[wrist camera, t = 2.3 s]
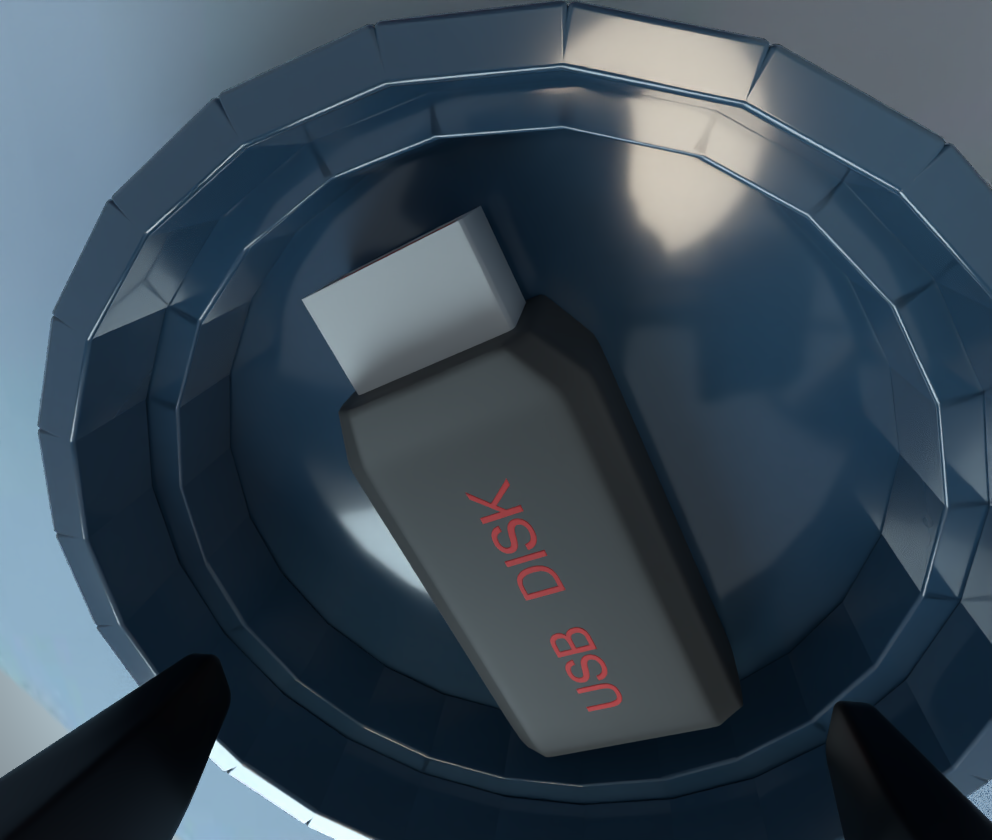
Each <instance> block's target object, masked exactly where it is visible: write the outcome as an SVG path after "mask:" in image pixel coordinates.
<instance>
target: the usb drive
mask: <svg viewBox="0 0 992 840" xmlns="http://www.w3.org/2000/svg"><path fill="white" fill-rule="evenodd" d="M302 301H303V303H304V305H305V306H306V308H307V310H308V311H309V313H310V315H311V316H312V318H313V320H314V321H315V323H316V325H317V326H318V328H319V330H320V332H321V333H322V335H323V337H324V338H325V340H326V342H327V343H328V345H329V347H330V348H331V350H332V352H333V353H334V355H335V357H336V358H337V360H338V362H339V364H340V365H341V367H342V369H343V370H344V372H345V374H346V375H347V377H348V379H349V380H350V382H351V384H352V385H353V387H354V389H355V390H356V391H355V392H354V393H353V394H352V395H351V396H350V397H349V399H348V400H347V401H346V402H345V403H344V404H343V405H342V407H341V408H340V410H339V412H338V414H339V419H340V424H341V429H342V434H343V439H344V444H345V449H346V454H347V459H348V463H349V466H350V468H351V470H352V472H353V474H354V476H355V477H356V479H357V481H358V482H359V484H360V486H361V487H362V489H363V490H364V492H365V494H366V495H367V497H368V498H369V500H370V502H371V503H372V505H373V506H374V508H375V510H376V511H377V513H378V514H379V516H380V518H381V519H382V521H383V522H384V524H385V525H386V527H387V529H388V530H389V532H390V533H391V535H392V537H393V538H394V540H395V541H396V543H397V545H398V546H399V548H400V549H401V551H402V553H403V554H404V556H405V557H406V559H407V561H408V562H409V564H410V565H411V567H412V569H413V570H414V572H415V573H416V575H417V576H418V578H419V580H420V581H421V583H422V584H423V586H424V588H425V589H426V591H427V592H428V594H429V596H430V597H431V599H432V600H433V602H434V604H435V605H436V607H437V608H438V610H439V612H440V613H441V615H442V616H443V618H444V620H445V621H446V623H447V624H448V626H449V627H450V629H451V631H452V632H453V634H454V635H455V637H456V639H457V640H458V642H459V643H460V645H461V647H462V648H463V650H464V651H465V653H466V655H467V656H468V658H469V659H470V661H471V663H472V664H473V666H474V667H475V669H476V670H477V672H478V674H479V675H480V677H481V678H482V680H483V682H484V683H485V685H486V686H487V688H488V690H489V691H490V693H491V694H492V696H493V698H494V699H495V701H496V702H497V704H498V706H499V707H500V709H501V710H502V712H503V714H504V715H505V717H506V718H507V720H508V721H509V723H510V725H511V726H512V727H513V729H514V730H515V732H516V733H517V735H518V736H519V738H520V739H521V741H522V742H523V743H524V744H525V745H526V746H527V747H528V748H531V749H532V750H534V751H536V752H538V753H540V754H541V755H543V756H545V757H554V756H560V755H565V754H571V753H576V752H582V751H587V750H592V749H598V748H603V747H609V746H614V745H620V744H625V743H631V742H636V741H642V740H647V739H653V738H658V737H664V736H669V735H675V734H680V733H686V732H691V731H696V730H702V729H707V728H712V727H717V726H719V725H721V724H722V723H723V722H724V721H726V720H727V719H728V718H729V717H730V716H731V715H732V714H734V713H735V712H736V711H737V710H738V709H740V708H741V707H742V706H743V698H742V691H741V686H740V681H739V677H738V672H737V668H736V664H735V660H734V655H733V651H732V648H731V645H730V643H729V640H728V638H727V635H726V633H725V631H724V628H723V626H722V624H721V621H720V619H719V617H718V614H717V612H716V610H715V607H714V605H713V603H712V600H711V598H710V596H709V594H708V591H707V589H706V587H705V584H704V582H703V580H702V577H701V575H700V573H699V571H698V568H697V566H696V564H695V561H694V559H693V557H692V554H691V552H690V550H689V548H688V545H687V543H686V541H685V538H684V536H683V534H682V531H681V529H680V527H679V525H678V522H677V520H676V518H675V515H674V513H673V511H672V508H671V506H670V504H669V502H668V499H667V497H666V495H665V492H664V490H663V488H662V485H661V483H660V481H659V479H658V476H657V474H656V472H655V469H654V467H653V465H652V462H651V460H650V458H649V456H648V453H647V451H646V449H645V446H644V444H643V442H642V439H641V437H640V435H639V432H638V430H637V428H636V426H635V423H634V421H633V419H632V416H631V414H630V412H629V409H628V407H627V405H626V403H625V400H624V398H623V396H622V393H621V391H620V389H619V386H618V384H617V382H616V380H615V377H614V375H613V373H612V370H611V368H610V366H609V363H608V361H607V359H606V357H605V355H604V352H603V350H602V348H601V346H600V344H599V342H598V340H597V339H596V337H595V336H594V334H593V333H592V332H591V331H589V330H588V329H587V328H586V327H585V326H583V325H582V324H581V323H580V322H578V321H577V320H576V319H575V318H573V317H572V316H571V315H569V314H568V313H567V312H566V311H564V310H563V309H562V308H561V307H559V306H558V305H557V304H555V303H554V302H553V301H552V300H550V299H549V298H548V297H547V296H545V295H538V296H535V297H533V298H530V299H528V300H526V301H525V299H524V297H523V295H522V293H521V291H520V289H519V287H518V284H517V282H516V280H515V278H514V276H513V274H512V272H511V269H510V267H509V265H508V263H507V261H506V259H505V257H504V254H503V252H502V250H501V248H500V246H499V244H498V242H497V239H496V237H495V235H494V233H493V231H492V229H491V227H490V224H489V222H488V220H487V218H486V216H485V214H484V212H483V209H482V207H481V206H479V207H477V208H475V209H473V210H471V211H469V212H467V213H465V214H463V215H461V216H459V217H458V218H456V219H454V220H452V221H450V222H448V223H446V224H444V225H442V226H440V227H438V228H436V229H434V230H432V231H430V232H428V233H426V234H424V235H422V236H420V237H418V238H416V239H414V240H412V241H410V242H408V243H406V244H404V245H402V246H400V247H398V248H396V249H394V250H392V251H390V252H388V253H387V254H385V255H383V256H381V257H379V258H377V259H375V260H373V261H371V262H369V263H367V264H365V265H363V266H361V267H359V268H357V269H355V270H353V271H351V272H349V273H347V274H345V275H343V276H341V277H339V278H337V279H336V280H334V281H332V282H330V283H329V284H327V285H325V286H324V287H322V288H320V289H319V290H317V291H315V292H313V293H312V294H310V295H308V296H307V297H305V298H303V299H302Z"/></svg>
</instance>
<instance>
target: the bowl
mask: <svg viewBox="0 0 992 840" xmlns="http://www.w3.org/2000/svg"><path fill="white" fill-rule="evenodd" d="M479 206H481V207H482V209H483V212H484V214H485V216H486V218H487V220H488V222H489V224H490V227H491V229H492V231H493V233H494V235H495V237H496V239H497V242H498V244H499V246H500V248H501V250H502V252H503V254H504V257H505V259H506V261H507V263H508V265H509V267H510V269H511V272H512V274H513V276H514V278H515V280H516V282H517V284H518V287H519V289H520V291H521V293H522V295H523V297H524V299H525V301H526V300H528V299H530V298H533V297H535V296H538V295H545V296H547V297H548V298H549V299H550V300H552V301H553V302H554V303H555V304H557V305H558V306H559V307H561V308H562V309H563V310H564V311H566V312H567V313H568V314H569V315H571V316H572V317H573V318H575V319H576V320H577V321H578V322H580V323H581V324H582V325H583V326H585V327H586V328H587V329H588V330H589V331H591V332H592V333H593V334H594V336H595V337H596V339H597V340H598V342H599V344H600V346H601V348H602V350H603V352H604V355H605V357H606V359H607V361H608V363H609V366H610V368H611V370H612V373H613V375H614V377H615V380H616V382H617V384H618V386H619V389H620V391H621V393H622V396H623V398H624V400H625V403H626V405H627V407H628V409H629V412H630V414H631V416H632V419H633V421H634V423H635V426H636V428H637V430H638V432H639V435H640V437H641V439H642V442H643V444H644V446H645V449H646V451H647V453H648V456H649V458H650V460H651V462H652V465H653V467H654V469H655V472H656V474H657V476H658V479H659V481H660V483H661V485H662V488H663V490H664V492H665V495H666V497H667V499H668V502H669V504H670V506H671V508H672V511H673V513H674V515H675V518H676V520H677V522H678V525H679V527H680V529H681V531H682V534H683V536H684V538H685V541H686V543H687V545H688V548H689V550H690V552H691V554H692V557H693V559H694V561H695V564H696V566H697V568H698V571H699V573H700V575H701V577H702V580H703V582H704V584H705V587H706V589H707V591H708V594H709V596H710V598H711V600H712V603H713V605H714V607H715V610H716V612H717V614H718V617H719V619H720V621H721V624H722V626H723V628H724V631H725V633H726V635H727V638H728V640H729V643H730V645H731V648H732V651H733V655H734V660H735V664H736V668H737V672H738V677H739V681H740V686H741V691H742V698H743V706H742V707H741V708H740V709H738V710H737V711H736V712H735V713H734V714H732V715H731V716H730V717H729V718H728V719H727V720H726V721H724V722H723V723H722V724H721V725H719V726H717V727H712V728H707V729H702V730H696V731H691V732H686V733H680V734H675V735H669V736H664V737H658V738H653V739H647V740H642V741H636V742H631V743H625V744H620V745H614V746H609V747H603V748H598V749H592V750H587V751H582V752H576V753H571V754H565V755H560V756H554V757H545V756H543V755H541V754H540V753H538V752H536V751H534V750H532V749H531V748H528V747H527V746H526V745H525V744H524V743H523V742H522V741H521V739H520V738H519V736H518V735H517V733H516V732H515V730H514V729H513V727H512V726H511V725H510V723H509V721H508V720H507V718H506V717H505V715H504V714H503V712H502V710H501V709H500V707H499V706H498V704H497V702H496V701H495V699H494V698H493V696H492V694H491V693H490V691H489V690H488V688H487V686H486V685H485V683H484V682H483V680H482V678H481V677H480V675H479V674H478V672H477V670H476V669H475V667H474V666H473V664H472V663H471V661H470V659H469V658H468V656H467V655H466V653H465V651H464V650H463V648H462V647H461V645H460V643H459V642H458V640H457V639H456V637H455V635H454V634H453V632H452V631H451V629H450V627H449V626H448V624H447V623H446V621H445V620H444V618H443V616H442V615H441V613H440V612H439V610H438V608H437V607H436V605H435V604H434V602H433V600H432V599H431V597H430V596H429V594H428V592H427V591H426V589H425V588H424V586H423V584H422V583H421V581H420V580H419V578H418V576H417V575H416V573H415V572H414V570H413V569H412V567H411V565H410V564H409V562H408V561H407V559H406V557H405V556H404V554H403V553H402V551H401V549H400V548H399V546H398V545H397V543H396V541H395V540H394V538H393V537H392V535H391V533H390V532H389V530H388V529H387V527H386V525H385V524H384V522H383V521H382V519H381V518H380V516H379V514H378V513H377V511H376V510H375V508H374V506H373V505H372V503H371V502H370V500H369V498H368V497H367V495H366V494H365V492H364V490H363V489H362V487H361V486H360V484H359V482H358V481H357V479H356V477H355V476H354V474H353V472H352V470H351V468H350V466H349V463H348V459H347V454H346V449H345V444H344V439H343V434H342V429H341V424H340V419H339V414H338V412H339V410H340V408H341V407H342V405H343V404H344V403H345V402H346V401H347V400H348V399H349V397H350V396H351V395H352V394H353V393H354V392H355V391H356V390H355V389H354V387H353V385H352V384H351V382H350V380H349V379H348V377H347V375H346V374H345V372H344V370H343V369H342V367H341V365H340V364H339V362H338V360H337V358H336V357H335V355H334V353H333V352H332V350H331V348H330V347H329V345H328V343H327V342H326V340H325V338H324V337H323V335H322V333H321V332H320V330H319V328H318V326H317V325H316V323H315V321H314V320H313V318H312V316H311V315H310V313H309V311H308V310H307V308H306V306H305V305H304V303H303V301H302V299H303V298H305V297H307V296H308V295H310V294H312V293H313V292H315V291H317V290H319V289H320V288H322V287H324V286H325V285H327V284H329V283H330V282H332V281H334V280H336V279H337V278H339V277H341V276H343V275H345V274H347V273H349V272H351V271H353V270H355V269H357V268H359V267H361V266H363V265H365V264H367V263H369V262H371V261H373V260H375V259H377V258H379V257H381V256H383V255H385V254H387V253H388V252H390V251H392V250H394V249H396V248H398V247H400V246H402V245H404V244H406V243H408V242H410V241H412V240H414V239H416V238H418V237H420V236H422V235H424V234H426V233H428V232H430V231H432V230H434V229H436V228H438V227H440V226H442V225H444V224H446V223H448V222H450V221H452V220H454V219H456V218H458V217H459V216H461V215H463V214H465V213H467V212H469V211H471V210H473V209H475V208H477V207H479ZM53 315H54V316H53V317H52V319H51V325H50V333H49V341H48V348H47V356H46V364H45V371H44V379H43V387H42V394H41V402H40V410H39V417H38V427H39V428H40V429H39V430H38V436H39V443H40V449H41V455H42V461H43V467H44V473H45V479H46V485H47V491H48V497H49V503H50V509H51V515H52V521H53V527H54V531H55V532H56V533H57V534H56V538H57V540H58V542H59V544H60V547H61V549H62V551H63V553H64V556H65V558H66V560H67V562H68V565H69V567H70V569H71V572H72V574H73V576H74V578H75V581H76V583H77V585H78V587H79V590H80V592H81V594H82V596H83V599H84V601H85V603H86V605H87V608H88V610H89V612H90V614H91V617H92V619H93V621H94V623H95V624H96V625H98V626H97V630H98V631H99V632H100V634H101V635H102V636H103V638H104V639H105V640H106V642H107V643H108V645H109V646H110V647H111V649H112V650H113V651H114V653H115V654H116V655H117V657H118V658H119V660H120V661H121V662H122V664H123V665H124V666H125V668H126V669H127V670H128V672H129V673H130V675H131V676H132V677H133V679H134V680H135V681H136V683H137V684H138V685H139V687H140V686H141V685H143V684H144V683H146V682H147V681H149V680H150V679H152V678H153V677H155V676H157V675H158V674H160V673H161V672H163V671H164V670H166V669H167V668H169V667H170V666H172V665H173V664H175V663H176V662H178V661H179V660H181V659H182V658H184V657H186V656H187V655H190V654H194V653H198V654H212V655H216V656H217V657H218V658H219V660H220V662H221V665H222V667H223V670H224V673H225V676H226V679H227V682H228V685H229V688H230V691H231V702H230V706H229V709H228V712H227V714H226V717H225V719H224V722H223V724H222V727H221V729H220V731H219V734H218V736H217V739H216V741H215V744H214V746H213V749H212V751H211V753H210V756H209V758H210V759H211V760H212V761H213V762H214V763H215V764H216V765H217V766H218V767H219V768H220V769H221V770H222V771H224V772H226V771H227V773H228V774H229V775H230V776H232V777H233V778H235V779H236V780H238V781H239V782H241V783H242V784H244V785H245V786H247V787H248V788H250V789H251V790H253V791H254V792H256V793H257V794H259V795H261V796H262V797H264V798H265V799H267V800H268V801H270V802H271V803H273V804H274V805H276V806H277V807H279V808H280V809H282V810H283V811H285V812H286V813H288V814H289V815H291V816H292V817H294V818H295V819H297V820H298V821H300V822H301V823H303V824H307V826H308V827H309V828H312V829H314V830H316V831H318V832H320V833H322V834H325V835H327V836H329V837H331V838H333V839H336V840H845V839H844V835H843V830H842V826H841V822H840V817H839V813H838V808H837V804H836V799H835V795H834V790H833V786H832V781H831V777H830V773H829V768H828V764H827V758H826V740H827V736H828V731H829V726H830V722H831V717H832V712H833V708H834V706H835V704H836V703H837V702H838V701H850V702H863V703H868V704H870V705H872V706H874V707H875V708H876V709H877V710H878V711H879V712H880V713H881V714H882V715H883V716H884V717H885V718H886V719H887V720H888V721H889V722H890V723H891V724H892V725H893V726H894V727H895V728H897V729H898V730H899V731H900V732H901V733H902V734H903V735H904V736H905V737H906V738H907V739H908V740H909V741H910V742H911V743H912V744H913V745H914V746H915V747H916V748H917V749H918V750H919V751H920V752H921V753H922V754H923V755H924V756H925V757H926V758H927V759H928V760H929V761H930V762H931V763H932V764H933V765H934V766H935V767H936V768H937V769H938V770H939V771H940V772H941V773H942V774H943V775H944V776H945V777H946V778H947V779H948V780H949V781H950V782H951V783H952V784H953V785H954V786H955V787H956V788H957V789H958V790H959V791H960V792H961V793H962V794H963V795H965V796H966V797H968V796H969V795H971V794H972V793H974V792H975V791H977V790H978V789H980V788H981V787H983V786H984V785H986V784H987V783H988V780H991V779H992V189H991V187H990V186H989V185H988V184H987V183H986V182H985V180H984V179H983V178H982V177H981V176H980V175H979V174H978V172H977V171H976V170H975V169H974V168H973V167H972V165H971V164H970V163H969V162H968V161H967V160H966V159H965V157H964V156H963V155H962V154H961V153H960V152H959V150H958V149H957V148H956V147H955V146H954V145H953V144H951V143H946V142H945V140H944V139H943V137H942V136H940V135H938V134H937V133H935V132H933V131H931V130H930V129H928V128H926V127H924V126H923V125H921V124H919V123H917V122H915V121H914V120H912V119H910V118H908V117H907V116H905V115H903V114H901V113H900V112H898V111H896V110H894V109H893V108H891V107H889V106H887V105H886V104H884V103H882V102H880V101H879V100H877V99H875V98H873V97H871V96H870V95H868V94H866V93H864V92H863V91H861V90H859V89H857V88H856V87H854V86H852V85H850V84H849V83H847V82H845V81H843V80H842V79H840V78H838V77H836V76H835V75H833V74H831V73H829V72H827V71H826V70H824V69H822V68H820V67H819V66H817V65H815V64H813V63H812V62H810V61H808V60H806V59H805V58H803V57H801V56H799V55H798V54H796V53H794V52H792V51H791V50H789V49H787V48H785V47H783V46H782V45H780V44H772V45H769V42H768V41H767V40H766V39H764V38H759V37H754V36H749V35H744V34H739V33H734V32H729V31H724V30H719V29H714V28H709V27H704V26H699V25H694V24H689V23H684V22H679V21H674V20H669V19H664V18H659V17H654V16H650V15H645V14H640V13H635V12H630V11H625V10H620V9H615V8H610V7H605V6H600V5H595V4H590V3H585V2H580V1H573V2H570V4H569V5H567V2H565V1H563V0H557V1H548V2H539V3H530V4H521V5H513V6H504V7H495V8H486V9H477V10H469V11H460V12H451V13H442V14H433V15H425V16H416V17H407V18H398V19H390V20H381V21H379V22H378V23H376V26H375V25H373V24H367V25H365V26H363V27H361V28H358V29H356V30H354V31H352V32H350V33H348V34H346V35H343V36H341V37H339V38H337V39H335V40H333V41H330V42H328V43H326V44H324V45H322V46H320V47H317V48H315V49H313V50H311V51H309V52H307V53H305V54H302V55H300V56H298V57H296V58H294V59H292V60H289V61H287V62H285V63H283V64H281V65H279V66H276V67H274V68H272V69H270V70H268V71H266V72H264V73H261V74H259V75H257V76H255V77H253V78H251V79H248V80H246V81H244V82H242V83H240V84H238V85H236V86H233V87H231V88H229V89H227V90H225V91H223V92H221V94H220V95H219V96H218V97H216V98H213V99H211V100H210V101H209V102H208V103H207V104H206V105H205V106H204V107H203V108H202V109H201V110H200V111H199V112H198V113H197V114H196V115H195V116H194V117H193V118H192V119H191V120H190V121H189V122H188V123H187V124H186V125H185V126H184V127H183V128H182V129H181V130H180V131H178V132H177V133H176V134H175V135H174V136H173V137H172V138H171V139H170V140H169V141H168V142H167V143H166V144H165V145H164V146H163V147H162V148H161V149H160V150H159V151H158V152H157V153H156V154H155V155H154V156H153V157H152V158H151V159H150V160H149V161H148V162H147V163H146V164H144V165H143V166H142V167H141V168H140V169H139V170H138V171H137V172H136V173H135V174H134V175H133V176H132V177H131V178H130V179H129V180H128V181H127V182H126V183H125V184H124V185H123V186H122V187H121V188H120V189H119V190H118V191H117V192H116V193H115V194H114V195H113V196H112V199H110V200H108V201H107V202H106V204H105V206H104V208H103V210H102V212H101V214H100V216H99V218H98V220H97V222H96V224H95V226H94V228H93V230H92V233H91V235H90V237H89V239H88V241H87V243H86V245H85V247H84V249H83V251H82V253H81V255H80V257H79V259H78V261H77V263H76V265H75V267H74V269H73V271H72V273H71V275H70V277H69V279H68V281H67V283H66V285H65V287H64V289H63V291H62V294H61V296H60V298H59V300H58V302H57V304H56V306H55V308H54V310H53Z"/></svg>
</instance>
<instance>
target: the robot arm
mask: <svg viewBox="0 0 992 840" xmlns="http://www.w3.org/2000/svg"><path fill="white" fill-rule="evenodd" d="M230 702H231V691H230V688H229V685H228V682H227V679H226V676H225V673H224V670H223V667H222V665H221V662H220V660H219V658H218V657H217V656H216V655H212V654H198V653H194V654H190V655H187V656H186V657H184V658H182V659H181V660H179V661H178V662H176V663H175V664H173V665H172V666H170V667H169V668H167V669H166V670H164V671H163V672H161V673H160V674H158V675H157V676H155V677H153V678H152V679H150V680H149V681H147V682H146V683H144V684H143V685H141V686H140V687H138V688H137V689H135V690H134V691H132V692H131V693H129V694H128V695H126V696H125V697H123V698H122V699H120V700H118V701H117V702H115V703H114V704H112V705H111V706H109V707H108V708H106V709H105V710H103V711H102V712H100V713H99V714H97V715H96V716H94V717H93V718H91V719H90V720H88V721H87V722H85V723H83V724H82V725H80V726H79V727H77V728H76V729H74V730H73V731H71V732H70V733H68V734H67V735H65V736H64V737H62V738H61V739H59V740H58V741H56V742H55V743H53V744H52V745H50V746H49V747H47V748H45V749H44V750H42V751H41V752H39V753H38V754H36V755H35V756H33V757H32V758H30V759H29V760H27V761H26V762H24V763H23V764H21V765H20V766H18V767H17V768H15V769H13V770H12V771H10V772H9V773H7V774H6V775H4V776H3V777H1V778H0V840H172V838H173V836H174V834H175V832H176V830H177V828H178V827H179V825H180V823H181V820H182V818H183V816H184V814H185V812H186V810H187V808H188V806H189V804H190V802H191V799H192V797H193V795H194V793H195V790H196V788H197V785H198V783H199V780H200V778H201V776H202V773H203V771H204V768H205V766H206V763H207V761H208V758H209V756H210V753H211V751H212V749H213V746H214V744H215V741H216V739H217V736H218V734H219V731H220V729H221V727H222V724H223V722H224V719H225V717H226V714H227V712H228V709H229V706H230ZM826 758H827V764H828V768H829V773H830V777H831V781H832V786H833V790H834V795H835V799H836V804H837V808H838V813H839V817H840V822H841V826H842V830H843V835H844V839H845V840H992V822H991V821H990V820H989V819H988V818H987V817H986V816H985V815H984V814H983V813H982V812H981V811H980V810H979V809H978V808H977V807H976V806H975V805H974V804H973V803H972V802H971V801H970V800H969V799H968V798H967V797H966V796H965V795H963V794H962V793H961V792H960V791H959V790H958V789H957V788H956V787H955V786H954V785H953V784H952V783H951V782H950V781H949V780H948V779H947V778H946V777H945V776H944V775H943V774H942V773H941V772H940V771H939V770H938V769H937V768H936V767H935V766H934V765H933V764H932V763H931V762H930V761H929V760H928V759H927V758H926V757H925V756H924V755H923V754H922V753H921V752H920V751H919V750H918V749H917V748H916V747H915V746H914V745H913V744H912V743H911V742H910V741H909V740H908V739H907V738H906V737H905V736H904V735H903V734H902V733H901V732H900V731H899V730H898V729H897V728H895V727H894V726H893V725H892V724H891V723H890V722H889V721H888V720H887V719H886V718H885V717H884V716H883V715H882V714H881V713H880V712H879V711H878V710H877V709H876V708H875V707H874V706H872V705H870V704H868V703H863V702H850V701H838V702H837V703H836V704H835V706H834V708H833V712H832V717H831V722H830V726H829V731H828V736H827V740H826Z"/></svg>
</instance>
